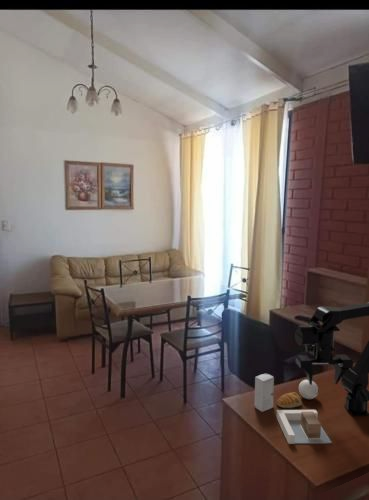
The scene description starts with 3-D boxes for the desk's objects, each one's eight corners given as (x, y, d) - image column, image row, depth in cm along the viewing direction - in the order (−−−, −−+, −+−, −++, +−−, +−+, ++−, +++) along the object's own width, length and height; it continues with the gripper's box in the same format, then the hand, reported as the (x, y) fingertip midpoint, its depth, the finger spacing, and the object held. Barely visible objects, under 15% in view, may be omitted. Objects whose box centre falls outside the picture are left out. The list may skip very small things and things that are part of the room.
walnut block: (320, 438, 116) (321, 424, 115) (308, 438, 116) (308, 424, 115) (312, 425, 123) (313, 411, 122) (300, 425, 123) (301, 411, 122)
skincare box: (262, 412, 131) (263, 381, 130) (253, 406, 135) (254, 376, 133) (273, 407, 135) (274, 377, 133) (265, 401, 138) (266, 372, 137)
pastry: (283, 412, 132) (284, 402, 131) (272, 403, 138) (272, 393, 137) (303, 405, 136) (303, 396, 135) (290, 397, 142) (291, 388, 141)
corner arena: (315, 417, 128) (315, 409, 128) (331, 443, 114) (332, 434, 114) (276, 417, 128) (276, 410, 127) (288, 443, 114) (288, 435, 114)
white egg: (313, 405, 136) (314, 387, 135) (295, 398, 141) (296, 381, 140) (323, 394, 143) (324, 377, 142) (305, 388, 148) (306, 372, 147)
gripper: (340, 333, 134) (338, 372, 136) (291, 335, 134) (290, 374, 136) (355, 345, 123) (352, 387, 125) (301, 346, 123) (300, 389, 125)
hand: (323, 384), depth 128 cm, fingers open, 9 cm apart
